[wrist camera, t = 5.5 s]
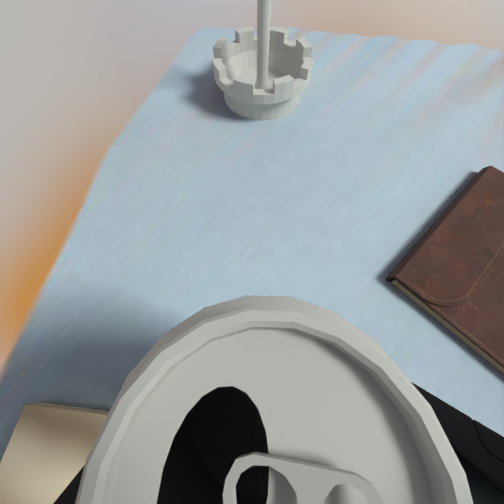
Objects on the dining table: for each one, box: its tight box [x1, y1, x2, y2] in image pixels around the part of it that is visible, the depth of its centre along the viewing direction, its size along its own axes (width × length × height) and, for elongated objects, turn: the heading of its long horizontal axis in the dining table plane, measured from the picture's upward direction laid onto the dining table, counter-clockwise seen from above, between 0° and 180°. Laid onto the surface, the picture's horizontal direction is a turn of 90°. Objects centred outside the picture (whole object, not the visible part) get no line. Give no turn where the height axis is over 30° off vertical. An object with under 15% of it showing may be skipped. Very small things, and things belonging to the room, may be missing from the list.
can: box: [75, 296, 473, 504], centre depth 9 cm, size 8×8×12 cm
